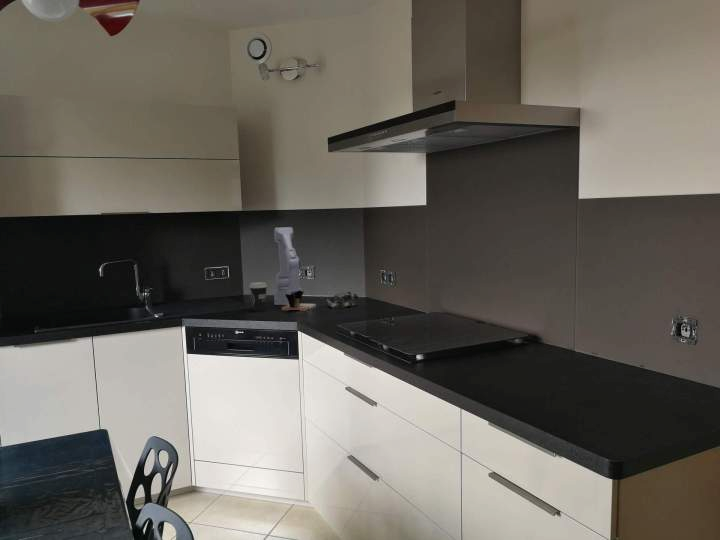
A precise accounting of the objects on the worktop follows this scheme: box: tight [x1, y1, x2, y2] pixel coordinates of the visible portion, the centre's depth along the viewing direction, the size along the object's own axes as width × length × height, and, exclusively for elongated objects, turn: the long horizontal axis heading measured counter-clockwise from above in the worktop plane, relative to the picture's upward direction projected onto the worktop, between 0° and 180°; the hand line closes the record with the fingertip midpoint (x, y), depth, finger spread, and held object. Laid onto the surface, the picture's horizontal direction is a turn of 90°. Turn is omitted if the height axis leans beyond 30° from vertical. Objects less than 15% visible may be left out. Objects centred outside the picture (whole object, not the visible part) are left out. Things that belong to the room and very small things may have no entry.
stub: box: [281, 299, 309, 312], centre depth 306 cm, size 14×5×6 cm, turn 72°
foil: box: [326, 291, 359, 309], centre depth 313 cm, size 12×11×15 cm
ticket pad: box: [286, 302, 317, 310], centre depth 314 cm, size 14×9×2 cm, turn 72°
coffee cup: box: [248, 281, 268, 313], centre depth 307 cm, size 10×10×15 cm
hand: (295, 305), depth 306 cm, fingers open, 7 cm apart
